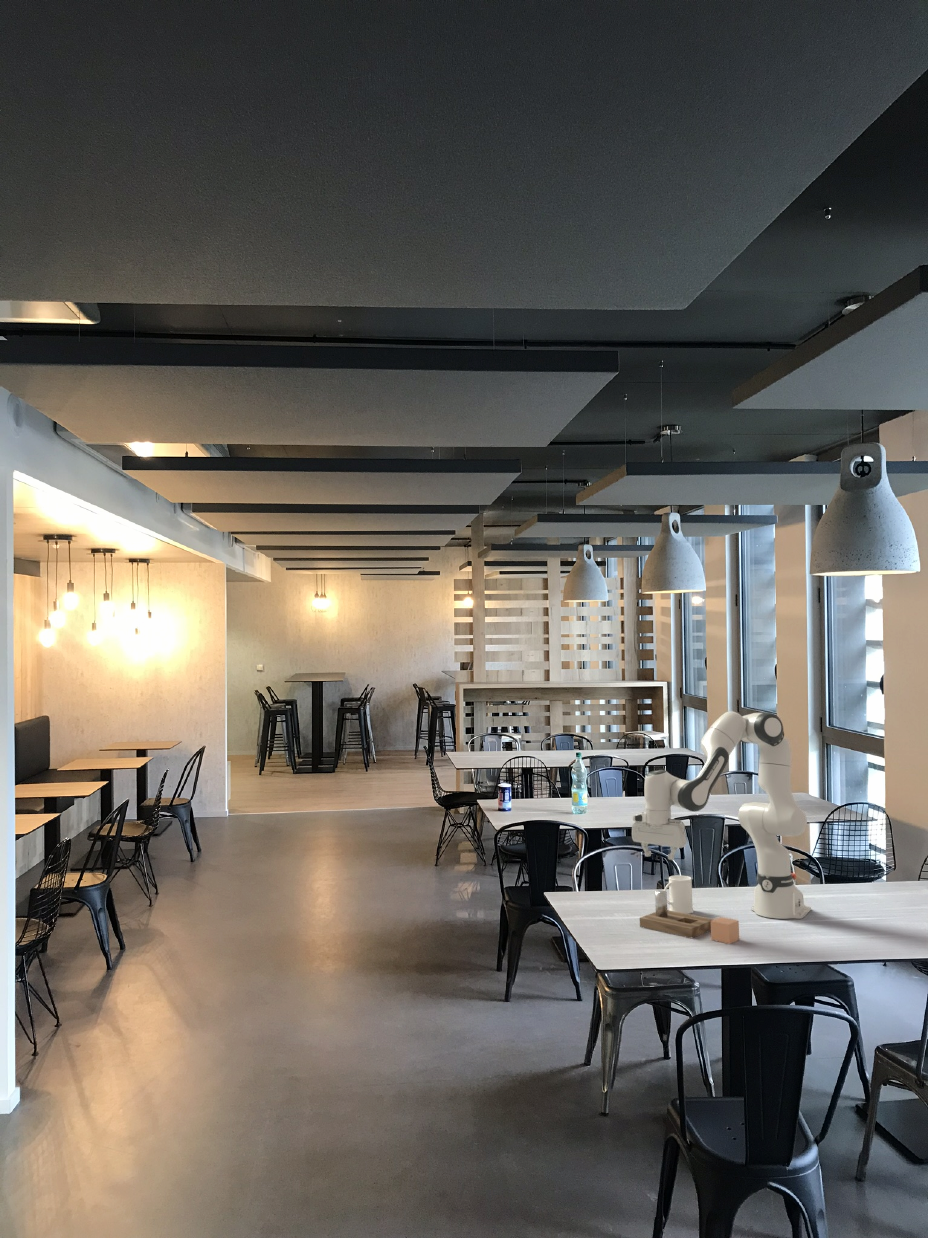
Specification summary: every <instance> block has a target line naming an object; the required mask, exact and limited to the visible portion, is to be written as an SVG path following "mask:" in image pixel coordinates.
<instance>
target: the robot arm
mask: <svg viewBox="0 0 928 1238" xmlns="http://www.w3.org/2000/svg"><path fill="white" fill-rule="evenodd" d="M739 742H742V743H744V744H755V745H757V747H758V748H759V749H758V750H759V760H758V761H759V762H758V775H757V777H758V778H757V784H758V787H759V788H761V790H762V791H764V792H765V793H766V794H767V796H768V797H767V798H768V801H769V802H761V801H752V802H745V803H743V804H742V805H741V806H740V807H739V810H738V813H737V818H738V822H739V824H740V826H741V827H742V828H743V829H744V830H745V831H746V832H747V833H748V835H749V836H750V839H751V841H752V842H753V845H754V847H755V851H756V860H757V873H756V880H757V881H756V882H757V885H756V886H755V887H754V897H753V899H754V900H753V901H754V902H753V905H752V906H751V907H750V910H751V911H754V913H755V915H758V916H761V917H764V918H770V919H778V920H779V919H780V920H782V919H783V920H784V919H785V920H786V919H787V920H788V919H799V920H800V919H804V918H805V917H806V916H807V914H808V913H810V912H811V911H812V907H811V906H809V905H807V904H805V902H804V894H803V892H802V891H801V890H800V889H798V888H797V887H796V885H795V882H794V880H796V878H797V873H794V872H793V873H792V871H791V855H790V852H789V850H788V848H786V847H785V846H784V845H782V844H781V842H780V841H779V839H778V837H777V836H780V837H786V838H788V837H799V836H802V835H803V834H804V832H805V831H806V830H807V825H808V820H807V816H806V813H805V812H804V811H803V809H801V808H800V807H799V806H798V804H797V802H796V801H795V798H794V795H793V792H792V782H791V781H792V779H791V777H792V749H791V743H790V740H789V739H788V738H787V737H785V731H784V724H783V722H782V720H781V718H780V717H779V716H778V715H776V714H774V713H771V712H753V713H749V714H742V715H741V714H740V713H739V712H735V711H732V710H731V711H730V710H729V711H726V712H724V713H723V714H722V715H721V716H719V717H718V718H717V719H716V720H715V721H714V722H713V723H712V724H711V725H710V727H708V729H707V731H705V733H704V735H703V736H702V738H701V741H700V748H701V751H702V753H703V754H704V756H705V757H706V762H705V764H704V765H703V767H702V768H701V770H700V771H699V773H698V774H697V776H696V777H695V778H693V779H691V780H687V779H683V778H682V779H681V778H679V777H677V776H674V775H672V774H671V773H669V772H668V771H667V770H665V769H659V770H658V769H656V770H652V771H649V772H647V773H646V775H645V778H644V790H643V791H644V799H645V806H644V811H643V812H641V813H638V814H634V815H633V816H632V821H633V823H632V825H631V839H632V841H633V842H634V843H640V844H641V847H642V850H643V851H644V856H645V857H651V856H652V851H651V850H650V849H649V847H648V846H649V845H655V846H663V847H670V848H669V849H670V853H668V854H667V860H669V861H674V860H675V855H676V852H677V850H678V849H682V848H685V847H686V845H687V836H686V835H687V834H686V825H685V823H684V822H683V821H682V820H680V819H673V818H672V811H671V810H672V809H671V807H672V806H673V807H674V806H675V807H678V808H682V809H685V810H687V811H689V812H695V813H696V812H699V811H701V810H703V809H704V808H705V807H706V806H707V804H708V801H709V799H710V795H711V792H712V790H713V787H714V786H715V784H716V783H717V781H718V779H719V778H720V777H721V775H722V774H723V771H724V770H725V768H726V766H727V764H728V762H729V760H730V755H731V754H732V752H733V751H734V750H735V748H736V746H737V745H738V744H739Z"/></svg>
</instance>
